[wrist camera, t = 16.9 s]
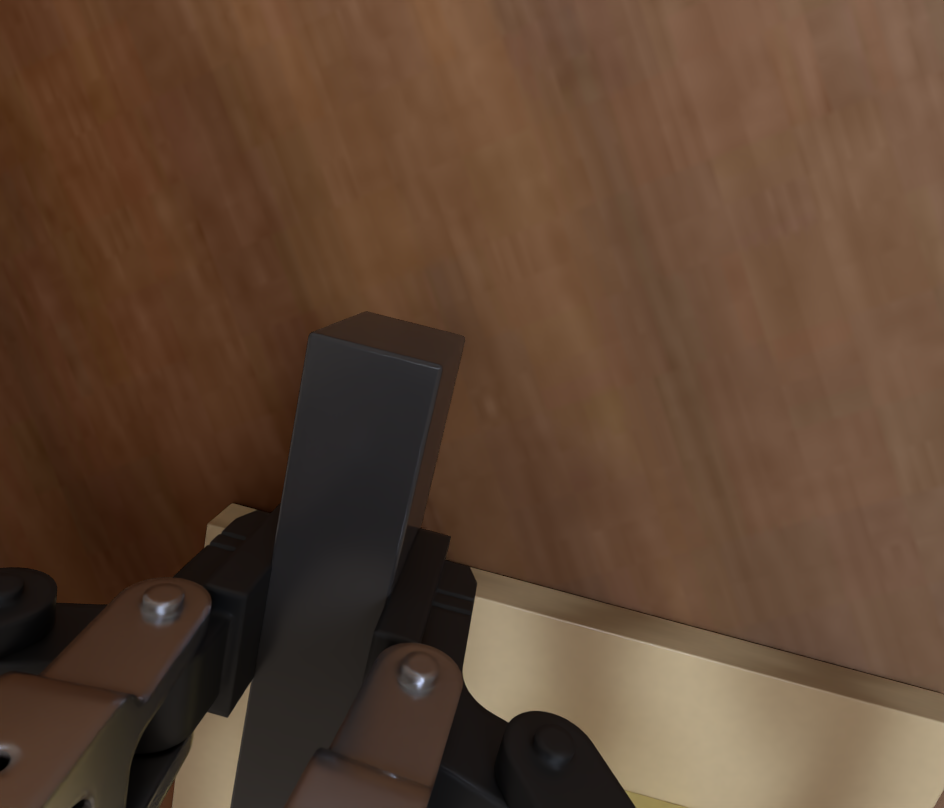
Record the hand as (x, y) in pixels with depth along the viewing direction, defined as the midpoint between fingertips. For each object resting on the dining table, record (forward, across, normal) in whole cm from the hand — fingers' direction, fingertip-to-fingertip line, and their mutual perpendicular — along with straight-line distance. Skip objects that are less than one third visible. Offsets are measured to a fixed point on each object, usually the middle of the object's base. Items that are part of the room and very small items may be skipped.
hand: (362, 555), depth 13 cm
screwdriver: (0, 0, +5) cm, 5 cm away
